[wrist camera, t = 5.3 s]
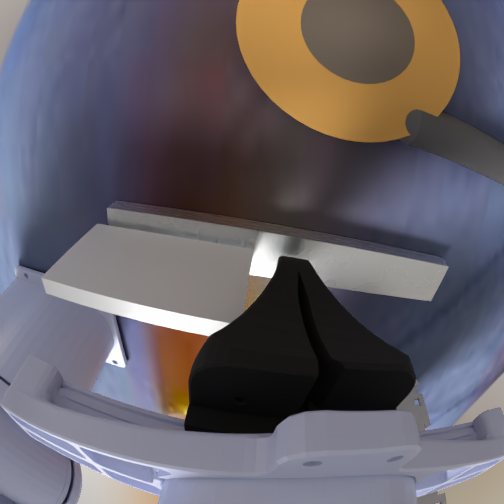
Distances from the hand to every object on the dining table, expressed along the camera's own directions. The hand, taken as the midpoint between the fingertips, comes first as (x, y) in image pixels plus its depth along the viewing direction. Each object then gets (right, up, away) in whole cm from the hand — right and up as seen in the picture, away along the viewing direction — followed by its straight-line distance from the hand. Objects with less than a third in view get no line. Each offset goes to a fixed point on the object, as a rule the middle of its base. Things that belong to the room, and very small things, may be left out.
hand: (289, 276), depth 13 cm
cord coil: (+2, +10, -3) cm, 11 cm away
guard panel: (-6, +2, +1) cm, 6 cm away
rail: (0, +1, +2) cm, 2 cm away
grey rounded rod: (+11, +6, -2) cm, 13 cm away
